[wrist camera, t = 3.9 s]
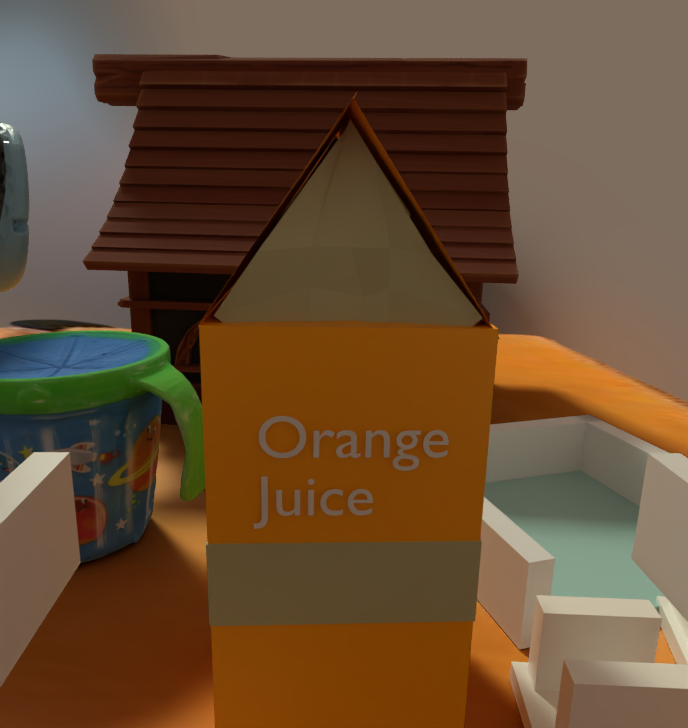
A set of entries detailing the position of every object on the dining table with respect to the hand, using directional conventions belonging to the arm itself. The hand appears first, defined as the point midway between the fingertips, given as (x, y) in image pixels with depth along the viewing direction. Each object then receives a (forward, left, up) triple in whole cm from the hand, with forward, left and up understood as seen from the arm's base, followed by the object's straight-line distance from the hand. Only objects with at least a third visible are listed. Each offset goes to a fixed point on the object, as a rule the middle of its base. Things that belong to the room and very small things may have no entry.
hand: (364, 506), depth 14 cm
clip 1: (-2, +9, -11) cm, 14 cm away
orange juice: (-7, +1, -11) cm, 13 cm away
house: (-42, +9, -11) cm, 44 cm away
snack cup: (-21, -9, -11) cm, 25 cm away
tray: (-13, +16, -11) cm, 23 cm away
